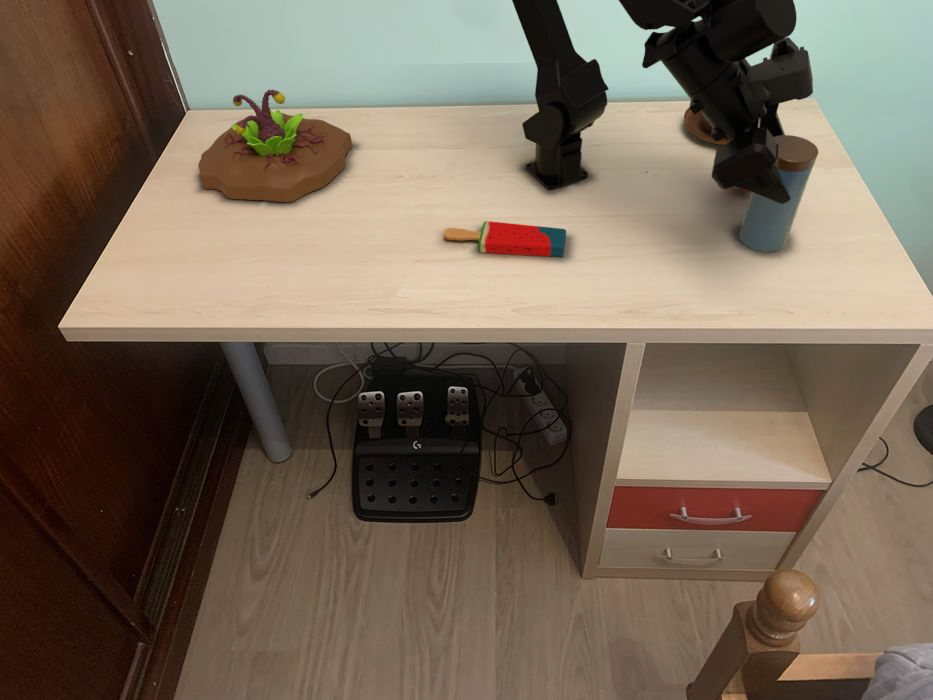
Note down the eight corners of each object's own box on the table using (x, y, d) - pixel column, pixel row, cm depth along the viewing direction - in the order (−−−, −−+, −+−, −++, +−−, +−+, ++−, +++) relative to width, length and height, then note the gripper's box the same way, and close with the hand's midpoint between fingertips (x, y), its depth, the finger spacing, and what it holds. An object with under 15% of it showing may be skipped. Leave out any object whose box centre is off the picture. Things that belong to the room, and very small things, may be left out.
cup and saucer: (706, 103, 114) (714, 64, 109) (780, 127, 108) (792, 88, 103) (666, 135, 107) (673, 95, 103) (742, 162, 102) (754, 122, 97)
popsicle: (447, 217, 93) (566, 227, 91) (448, 227, 94) (565, 236, 92) (440, 239, 90) (563, 249, 87) (441, 249, 91) (562, 259, 88)
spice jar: (737, 248, 89) (764, 157, 80) (740, 221, 93) (766, 131, 84) (785, 256, 88) (818, 164, 79) (786, 228, 91) (818, 138, 82)
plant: (305, 214, 96) (287, 138, 88) (180, 189, 101) (153, 114, 93) (370, 139, 109) (360, 66, 101) (256, 119, 114) (238, 48, 106)
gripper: (777, 68, 67) (863, 189, 72) (781, -9, 79) (855, 99, 84) (674, 134, 74) (759, 239, 80) (692, 54, 86) (765, 150, 92)
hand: (787, 178), depth 84 cm, fingers open, 9 cm apart
